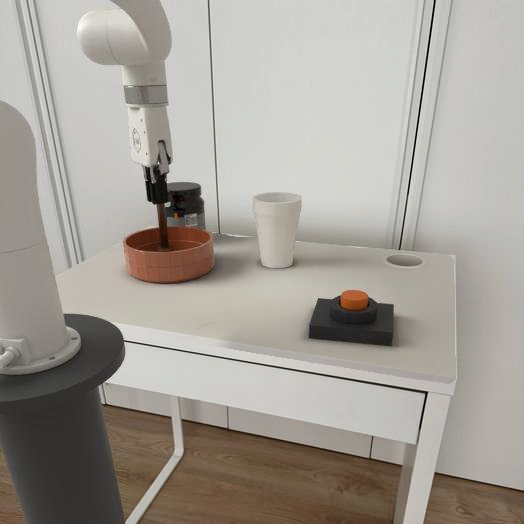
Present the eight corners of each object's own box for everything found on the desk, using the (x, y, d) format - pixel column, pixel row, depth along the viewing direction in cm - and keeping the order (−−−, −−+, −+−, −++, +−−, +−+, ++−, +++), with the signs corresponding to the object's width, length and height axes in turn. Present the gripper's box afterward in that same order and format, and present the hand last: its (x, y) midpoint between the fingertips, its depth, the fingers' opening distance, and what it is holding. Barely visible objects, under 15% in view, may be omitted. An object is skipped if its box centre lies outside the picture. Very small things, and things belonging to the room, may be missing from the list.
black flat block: (391, 346, 74) (395, 321, 72) (308, 338, 77) (309, 313, 75) (392, 316, 83) (395, 293, 81) (317, 310, 85) (318, 287, 83)
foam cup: (281, 252, 111) (281, 190, 104) (309, 263, 104) (312, 198, 98) (244, 261, 106) (242, 196, 99) (272, 274, 99) (272, 206, 93)
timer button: (366, 312, 76) (367, 301, 75) (339, 309, 77) (339, 299, 76) (367, 301, 79) (369, 290, 78) (341, 299, 80) (342, 288, 79)
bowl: (198, 287, 94) (196, 255, 91) (111, 280, 97) (106, 249, 94) (225, 256, 109) (223, 228, 106) (148, 251, 112) (145, 223, 109)
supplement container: (175, 231, 125) (170, 179, 119) (214, 235, 122) (211, 182, 116) (151, 243, 116) (145, 189, 111) (193, 248, 113) (189, 192, 107)
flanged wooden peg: (176, 254, 105) (168, 172, 97) (158, 257, 104) (149, 174, 96) (172, 249, 108) (164, 169, 100) (155, 251, 107) (145, 171, 99)
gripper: (111, 95, 96) (125, 197, 105) (142, 100, 84) (155, 214, 93) (150, 93, 99) (160, 192, 108) (184, 98, 87) (193, 207, 96)
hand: (158, 201), depth 100 cm, fingers closed on flanged wooden peg
